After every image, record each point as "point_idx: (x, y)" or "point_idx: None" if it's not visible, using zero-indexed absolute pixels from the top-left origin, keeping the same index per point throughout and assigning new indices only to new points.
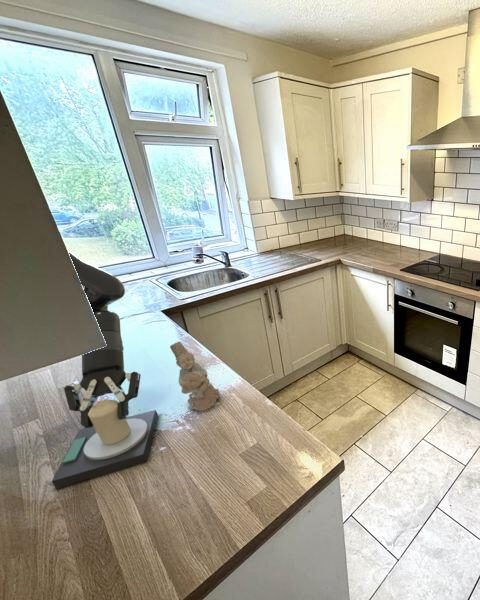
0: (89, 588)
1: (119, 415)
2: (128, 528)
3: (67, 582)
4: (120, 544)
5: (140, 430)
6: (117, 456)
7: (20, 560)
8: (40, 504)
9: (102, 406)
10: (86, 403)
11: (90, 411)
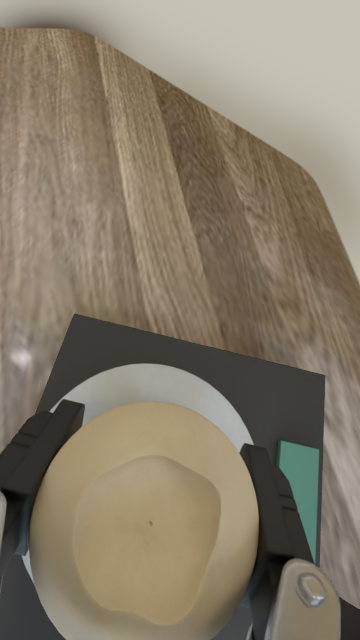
0: (200, 106)
1: (71, 411)
2: (143, 159)
3: (231, 133)
4: (158, 140)
5: None
6: (148, 360)
7: (314, 217)
8: (328, 348)
9: (151, 522)
10: (291, 637)
11: (239, 492)
